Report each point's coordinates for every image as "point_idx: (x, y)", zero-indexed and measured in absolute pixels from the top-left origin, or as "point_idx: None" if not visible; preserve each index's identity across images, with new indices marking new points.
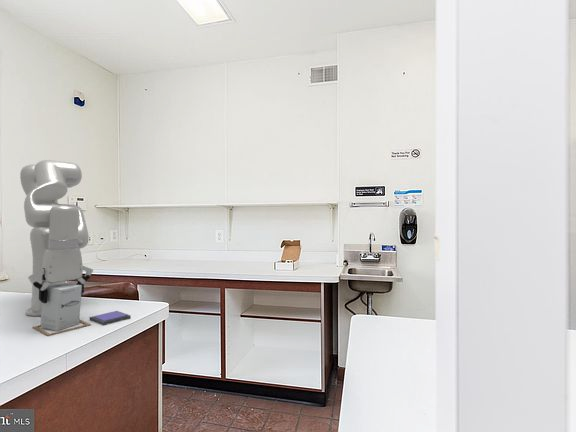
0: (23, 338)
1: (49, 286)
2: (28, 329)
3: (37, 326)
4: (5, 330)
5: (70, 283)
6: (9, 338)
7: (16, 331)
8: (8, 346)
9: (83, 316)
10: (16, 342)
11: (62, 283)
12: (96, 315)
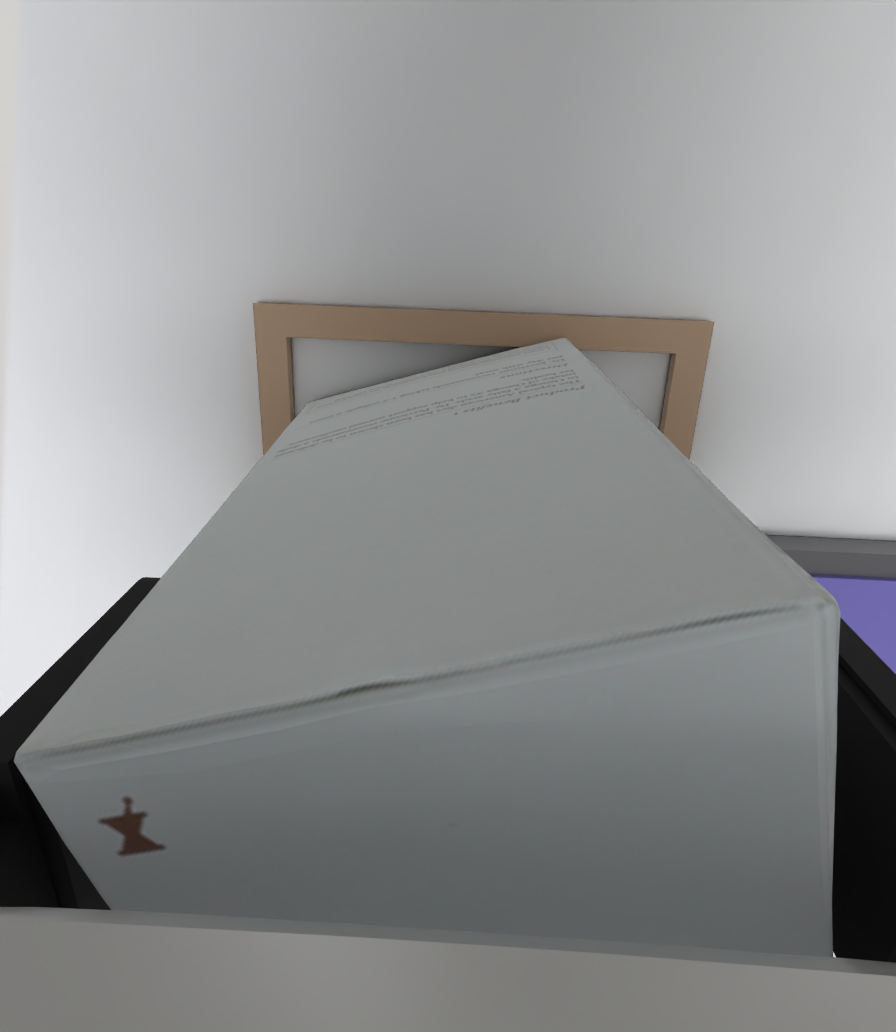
0: (131, 568)
1: (151, 855)
2: (219, 314)
3: (296, 335)
4: (25, 114)
5: (815, 813)
6: (39, 467)
7: (114, 279)
8: (19, 661)
9: (821, 322)
10: (74, 621)
11: (652, 669)
12: (843, 552)
